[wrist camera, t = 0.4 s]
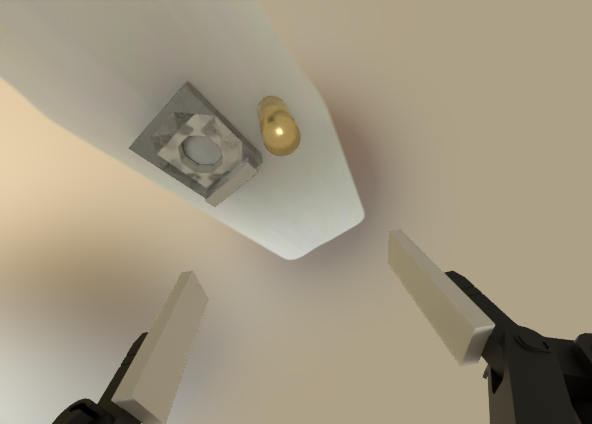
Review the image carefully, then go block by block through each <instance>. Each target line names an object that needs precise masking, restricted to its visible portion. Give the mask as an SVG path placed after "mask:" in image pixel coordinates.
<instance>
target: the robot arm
mask: <svg viewBox="0 0 592 424" xmlns="http://www.w3.org/2000/svg"><path fill="white" fill-rule="evenodd" d="M388 264H389V266H390V267H391V269H392V270H393V271H394V273H395V274H396V275H397V277H398V278H399V280H400V281H401V283H402V284H403V286H404V287H405V288H406V290H407V291H408V293H409V294H410V295H411V297H412V298H413V300H414V301H415V302H416V304H417V305H418V307H419V308H420V310H421V311H422V312H423V314H424V315H425V317H426V318H427V319H428V321H429V322H430V324H431V325H432V327H433V328H434V329H435V331H436V332H437V334H438V335H439V337H440V338H441V339H442V341H443V342H444V344H445V345H446V346H447V348H448V349H449V351H450V352H451V353H452V355H453V356H454V358H455V359H456V361H457V362H458V363H459V365H460V366H466V365H471V364H475V363H478V362H479V360H480V357H481V356H482V357H483V358H484V359H485V360H486V362H487V363H488V365H487V368H486V369H485V371H484V375H483V378H485V379H486V378H487V376H488V391H489V409H490V410H489V411H490V424H592V334H591V333H584V334H581V335H579V336H578V337H577V338H576V340H575V341H573V340H564V339H557V338H548V337H543V336H542V335H540V334H539V333H537V332H535V331H533V330H531V329H529V328H526V327H522V326H518V325H517V324H516V323H515V322H513V321H512V320H511V319H510V318H509V317H508V316H506V314H505V313H503V312H502V311H501V310H500V309H499V308H498V307H497V306H496V305H495V304H494V303H492V302H491V301H490V300H489V299H488V298H487V297H486V296H485V295H483V294H482V293H481V292H480V291H479V290H478V289H477V288H475V287H474V285H473V284H472V283H471V282H470V281H468V280H467V279H466V278H465V277H463V276H461V275H460V274H458V273H456V272H454V271H450V272H445V273H444V272H443V271H442V270H441V269H440V268H439V267H438V266H437V265H436V264H435V263H434V262H433V261H432V260H431V259H430V258H429V257H428V256H426V254H425V253H424V252H423V251H422V250H421V249H420V248H419V247H418V246H417V245H416V244H415V243H414V242H413V241H412V240H411V239H410V238H409V237H408V236H407V235H406V234H405V233H404V232H403V231H402V230H400V229H399V230H393V231H389V241H388ZM207 302H208V297H207V295H206V293H205V292H204V290H203V288H202V286H201V284H200V283H199V281H198V279H197V278H196V275H195V274H194V272H193V271H189V272H183V273H181V275H180V276H179V278H178V280H177V282H176V284H175V286H174V287H173V289H172V291H171V293H170V295H169V296H168V298H167V300H166V302H165V303H164V305H163V307H162V309H161V311H160V312H159V314H158V316H157V318H156V320H155V321H154V323H153V326H152V327H151V329H150V331H149V332H146V333H142V335H141V336H140V337H139V338H138V339H137V340H136V341H135V342H134V343H133V345H132V347H131V348H130V350H129V352H128V353H127V356H126V357H125V359H124V360H123V362H122V364H121V367H120V368H119V369H118V370H117V372H116V374H115V375H114V377H113V379H112V380H111V382H110V384H109V386H108V387H107V389H106V391H105V392H104V394H103V396H102V397H101V399H100V401H99V402H98V404H96V403H94V402H93V401H91V400H90V399H81V400H78V401H77V402H75V403H73V404H72V405H70V406H69V407H68V408H67V409H65V410H64V411H63V412H62V413H61V414H60V415H59V416H58V417H57V418H56V420H55V421H54V422H53V423H52V424H141V423H142V424H166V421H167V418H168V415H169V413H170V409H171V407H172V404H173V400H174V398H175V395H176V392H177V389H178V386H179V383H180V380H181V378H182V374H183V371H184V369H185V366H186V363H187V360H188V357H189V354H190V351H191V348H192V345H193V342H194V340H195V337H196V334H197V331H198V328H199V325H200V322H201V319H202V316H203V313H204V310H205V307H206V304H207Z"/></svg>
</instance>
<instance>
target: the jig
mask: <svg viewBox="0 0 592 424" xmlns="http://www.w3.org/2000/svg"><path fill="white" fill-rule="evenodd" d="M188 136H203V137H208V138H210V139H211V140H212V141H213V142H214V143H215V144H216V145H218V146H219V147H220V148H221V149H222V158H221V159H220V160H219V161H218V162H217V163H216V164H215V165H198V164H196V163H195V162H193V161H192V160H191V159H189V158H188V157H187V156H185V155H184V151H183V146H182V142H183V141H184V140H185V139H186V138H187V137H188ZM129 149H130V150H132V151H134V152H135V153H137V154H138V155H140V156H141V157H143V158H144V159H146V160H147V161H149V162H151V163H152V164H154V165H155V166H157V167H158V168H160V169H161V170H163V171H164V172H166V173H168V174H169V175H171V176H172V177H174V178H175V179H177V180H178V181H180V182H181V183H183V184H184V185H186V186H188V187H189V188H191V189H192V190H194V191H195V192H197V193H198V194H200V195H201V196H203V197H205V201H206V202H208V203H209V204H211V205H212V206H214V207H216V206H217V205H218V204H219V203H221V202H222V201H223V200H224V199H226V198H227V197H228V196H229V195H230V194H232V193H233V192H234V191H235V190H237V189H238V188H239V187H240V186H241V185H243V184H244V183H245V182H246V181H248V180H249V179H250V178H251V177H252V176H254V175H255V174H256V173H257V172H258V168H257V166H258V165H259V164H261V163H262V157H261V154H260V153H259V152H258V151H257V150H256V149H255V148H254V147H253V146H252V145H251V144H250V143H249V142H248V141H247V140H246V139H245V138H244V137H243V136H242V135H241V134H240V133H239V132H238V131H237V130H236V129H235V128H234V127H233V126H232V125H231V124H230V123H229V122H228V121H227V120H226V119H225V118H224V117H223V116H222V115H221V114H220V113H219V112H218V111H217V110H216V109H215V108H214V107H213V106H212V105H211V104H210V103H209V102H208V101H207V100H206V99H205V98H204V97H203V96H202V95H201V94H200V93H199V92H198V91H197V90H196V89H195V88H194V87H193V86H192V85H191V84H190V83H189V82H188V81H187V83H186V84H185V85H184V86H183V87H182V88H181V89H180V90H179V92H178V93H177V94H176V95H175V96H174V97H173V98H172V100H171V101H170V102H169V103H168V104H167V105H166V106H165V107H164V109H163V110H162V111H161V112H160V113H159V114H158V115H157V117H156V118H155V119H154V120H153V121H152V122H151V123H150V124H149V126H148V127H147V128H146V129H145V130H144V131H143V132H142V134H141V135H140V136H139V137H138V138H137V139H136V140H135V141H134V143H133V144H132V145H131V146H130V147H129Z"/></svg>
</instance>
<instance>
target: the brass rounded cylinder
mask: <svg viewBox="0 0 592 424" xmlns="http://www.w3.org/2000/svg"><path fill="white" fill-rule="evenodd" d="M258 117H259V122H260V127H261V131H262V136H263V140H264V144H265V146H266V148H267V149H268V151H270V152H271V153H272V154H275V155H278V156H284V155H288V154H290V153H292V152H293V151H294V150H295V149H296V148H297V147H298V145H299V142H300V132H299V129H298V127H297V125H296V124H295V122H294V120H293V118H292V117H291V115H290V113H289V111H288V110H287V108H286V106H285V104H284V103H283V101H282V100H281V99H279V98H277V97H274V96H269V97H266V98H264V99H263V100H262V101H261V102H260V104H259V106H258Z"/></svg>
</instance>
